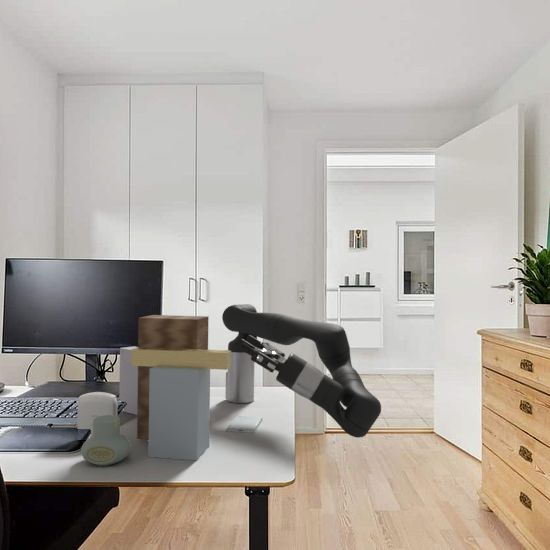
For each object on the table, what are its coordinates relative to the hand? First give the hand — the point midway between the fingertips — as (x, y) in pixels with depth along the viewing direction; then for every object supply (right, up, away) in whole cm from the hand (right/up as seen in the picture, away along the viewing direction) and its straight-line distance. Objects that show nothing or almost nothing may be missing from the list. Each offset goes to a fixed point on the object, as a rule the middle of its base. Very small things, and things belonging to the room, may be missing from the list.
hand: (242, 340), depth 125 cm
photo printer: (-39, -28, +11) cm, 49 cm away
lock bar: (-15, -7, +2) cm, 17 cm away
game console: (-29, -28, +34) cm, 53 cm away
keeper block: (-16, -28, +2) cm, 32 cm away
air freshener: (-31, -28, -5) cm, 42 cm away
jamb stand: (-20, -28, +15) cm, 37 cm away
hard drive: (-1, -29, +26) cm, 38 cm away
